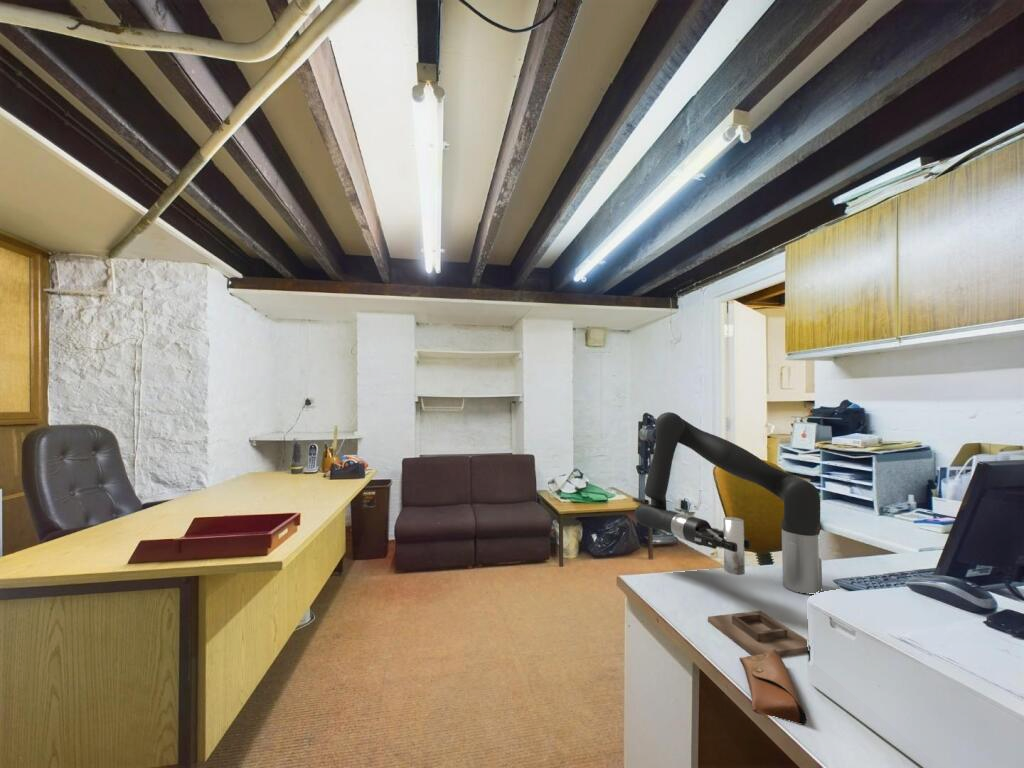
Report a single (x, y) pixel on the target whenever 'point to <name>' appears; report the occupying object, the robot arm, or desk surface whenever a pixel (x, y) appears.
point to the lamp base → (759, 633)
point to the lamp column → (735, 534)
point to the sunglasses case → (772, 687)
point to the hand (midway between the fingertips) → (743, 546)
